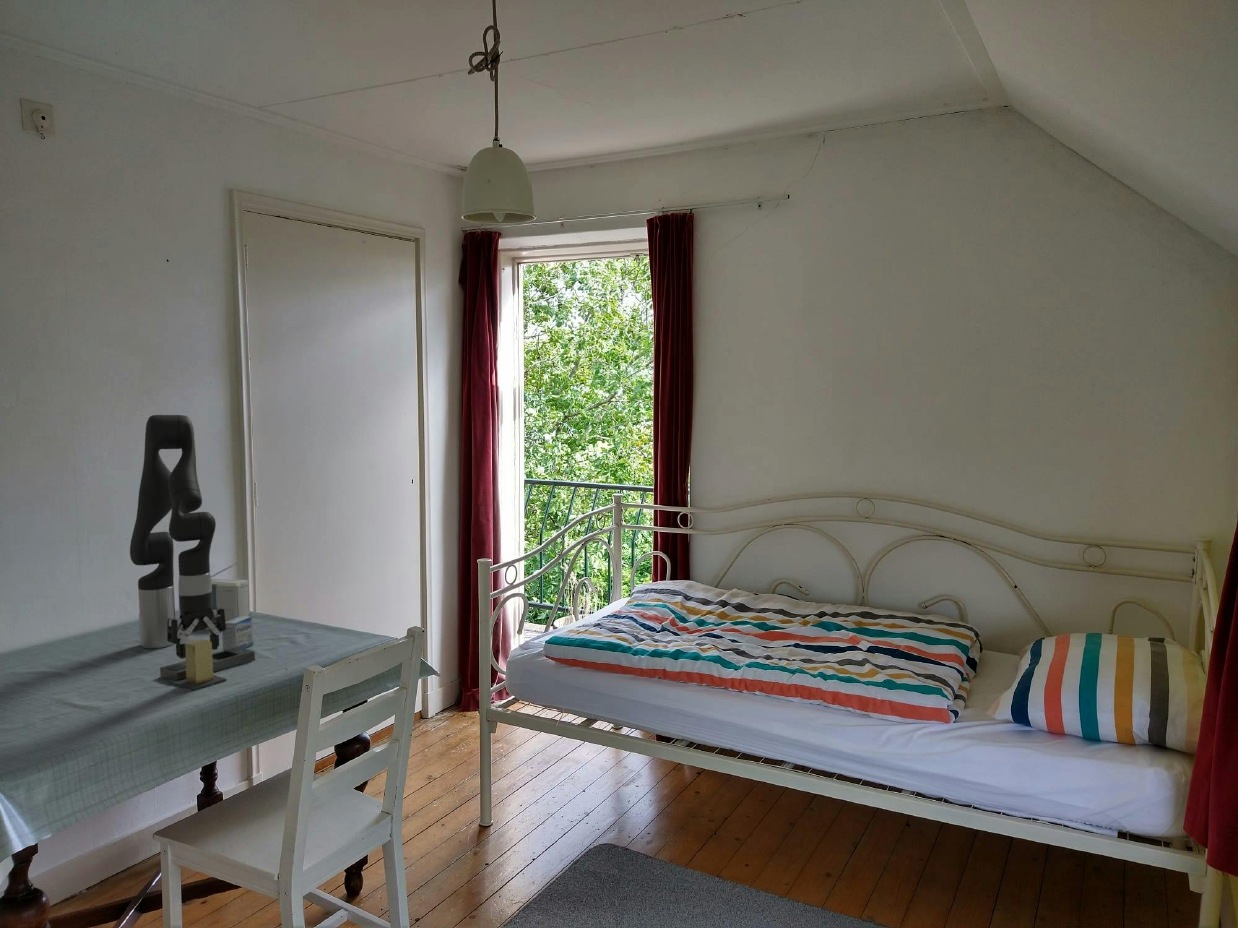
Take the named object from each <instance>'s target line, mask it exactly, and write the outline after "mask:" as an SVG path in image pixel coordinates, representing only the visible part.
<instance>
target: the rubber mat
mask: <svg viewBox="0 0 1238 928" xmlns="http://www.w3.org/2000/svg"><path fill="white" fill-rule="evenodd" d="M225 682H227V678H224V677H221V676H219V675H215V674H213V680H211V681H208V682H204V683H201V684H197V685H196V684H193V683H190V682H187V679H184V680H180V681H177V682H174V681H172V685H173V684H174V686H176V687H179V686H180V687H179V688H183V689H185V690H188V689H190V690H189V691H191V690H192V692H194V690H195V691H197V689H198V690H201V689H204V688H207V687H206V686H208V687H211V686H213V685H212V684H214V685H217V683H218V684H221V683H225ZM210 685H211V686H210ZM200 688H201V689H200Z"/></svg>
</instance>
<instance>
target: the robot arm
mask: <svg viewBox="0 0 1238 928" xmlns="http://www.w3.org/2000/svg"><path fill="white" fill-rule="evenodd" d="M144 437H145V438H144V455H143V465H142V473H141V479H140V484H139V489H138V498H137V499H138V500H137V510H136V511H137V512H136V517H135V523H134V527H133V531H132V535H131V538H130V539H131V540H130V545H129V556H130V560H131V562H132V564H134V565H135V566H150V565H157V567H156V568H155V569H154V570H153V571H151V572H149V573H148V574H144V576H143V575H142V576H141V577H139V578H138V581H137V589H138V590H137V591H138V594H137V595H138V608H139V609H138V610H139V612H138V619H139V620H138V621H139V640H140V642H139V643H140V646H141V647H142V648H143V649H161V648H164V647H169V646H172V645H175V654H176V657H178V658H179V659H186V651H185V643H186V640H187V638H188V637H189V636H190V635H191V634H192V633H197V631H203V630H207V631H208V632H209V633H210V634H209V641H212V651H214V650H215V651H216V650H218V648H219V646H220V633H222V631H225V630H226V622H225V613H224V609H222V608H215V610H212V584H211V579H212V578H211V576H212V575H211V571H210V569H211V567H210V566H211V565H210V554H211V553H210V552H211V547H212V543H213V539H214V535H215V532H216V524H217V523H216V519H215V517H214V515H213V514H212V513H210V511H209V512H208V511H198V512H197V510H199V509H200V508H201V507H202V503H203V497H202V494H201V490H200V485H199V480H198V474H197V458H196V457H197V456H196V441H195V431H194V426H193V422H192V420H191V418H190V417H189V416H188V415H183V414H153V415H150V416H149V417H148V418H147V421H146V425H145V435H144ZM161 450H181V456H180V458H179V460H178V462H177V463H176V465H175V466H174V468H173V470H172V471H170V469H169V468H168V467H167V465H166V464H165V463H164V461H163V460H162V458H161V455H160V453H159V452H160V451H161ZM195 511H196V512H195ZM170 512H171V515H170V520H169V525H168V531H157V532H156V531H155V532H152V531H153V529H154V528H155V526H156V525H158V524H159V523H160V522H161V521H162V520H163V519H164V518H165V517H166V516H167V515H168V514H169V513H170ZM174 541H175V542H181V543H183V542H190V541H191V542H192V541H198V542H197V543H198V544H196V546H194V547H192V548H188V549H185V550H183V551H181V552H179V554H178V558H177V559H178V560H177V561H178V562H177V563H178V582H177V583H178V587H179V592H178V609H179V608H180V611H179V617H176V607H175V606H176V604H175V603H176V602H175V584H174V576H175V574H174V573H175V572H174V553H175V551H174ZM180 613H181V614H180ZM213 615H214V617H215V619H216V622H215V623H214V622H211V619H212V617H213ZM180 625H181V626H180ZM179 626H180V627H179ZM178 627H179V629H178Z"/></svg>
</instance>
